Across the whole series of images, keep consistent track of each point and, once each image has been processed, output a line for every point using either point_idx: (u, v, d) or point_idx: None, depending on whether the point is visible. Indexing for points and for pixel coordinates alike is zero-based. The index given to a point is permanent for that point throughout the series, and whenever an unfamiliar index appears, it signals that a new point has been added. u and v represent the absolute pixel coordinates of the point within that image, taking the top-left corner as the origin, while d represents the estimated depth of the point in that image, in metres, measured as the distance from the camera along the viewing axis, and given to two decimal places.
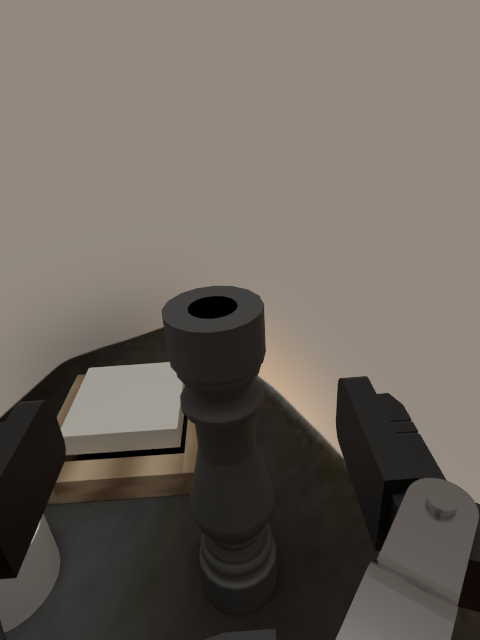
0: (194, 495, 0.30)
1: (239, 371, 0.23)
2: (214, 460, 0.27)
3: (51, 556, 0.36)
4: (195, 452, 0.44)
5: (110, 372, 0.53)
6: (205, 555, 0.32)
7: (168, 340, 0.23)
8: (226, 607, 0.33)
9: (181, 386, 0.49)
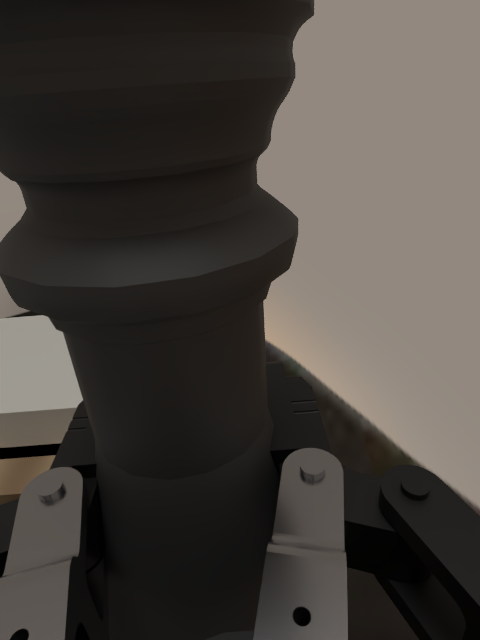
0: None
1: None
2: (132, 458, 0.08)
3: None
4: None
5: (29, 323, 0.33)
6: None
7: None
8: None
9: None
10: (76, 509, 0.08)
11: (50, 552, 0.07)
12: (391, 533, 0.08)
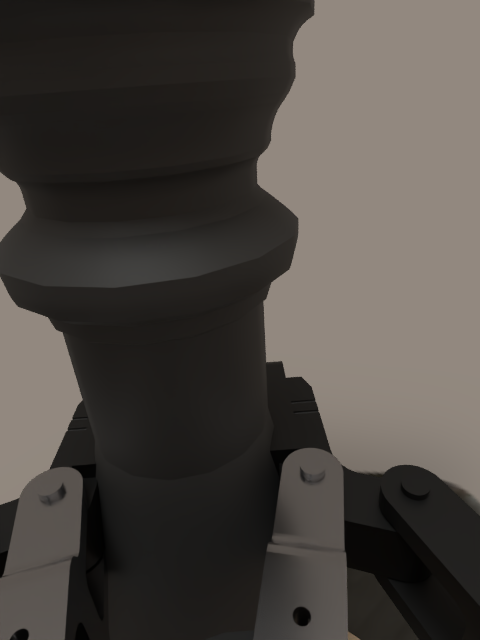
0: None
1: None
2: (131, 458, 0.08)
3: None
4: None
5: None
6: None
7: None
8: None
9: None
10: (76, 509, 0.08)
11: (50, 552, 0.07)
12: (391, 533, 0.08)
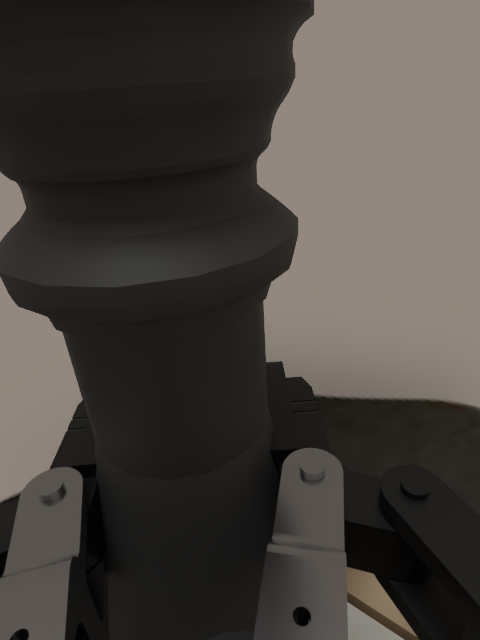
0: None
1: None
2: (131, 458, 0.08)
3: None
4: None
5: None
6: None
7: None
8: None
9: None
10: (76, 509, 0.08)
11: (50, 552, 0.07)
12: (391, 533, 0.08)
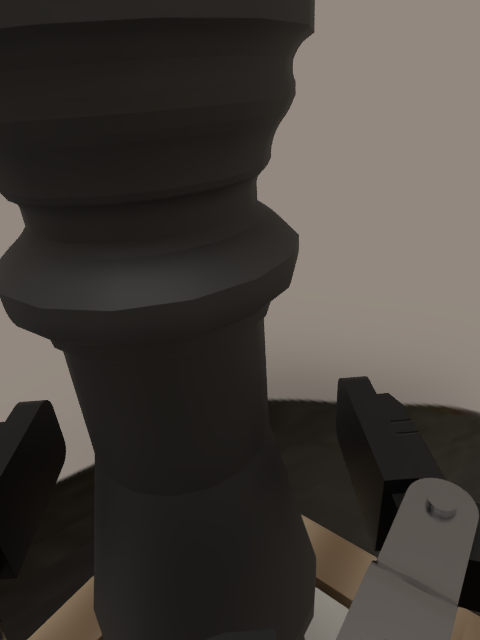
0: (95, 571, 0.10)
1: None
2: (131, 474, 0.08)
3: None
4: None
5: None
6: None
7: None
8: None
9: None
10: None
11: None
12: None
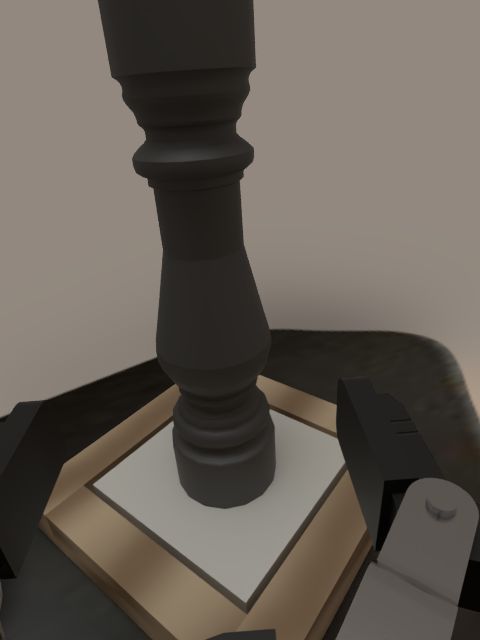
0: (159, 324, 0.21)
1: (212, 53, 0.15)
2: (183, 250, 0.19)
3: None
4: None
5: None
6: (178, 424, 0.24)
7: (103, 13, 0.15)
8: (207, 498, 0.25)
9: (315, 500, 0.25)
10: None
11: None
12: None
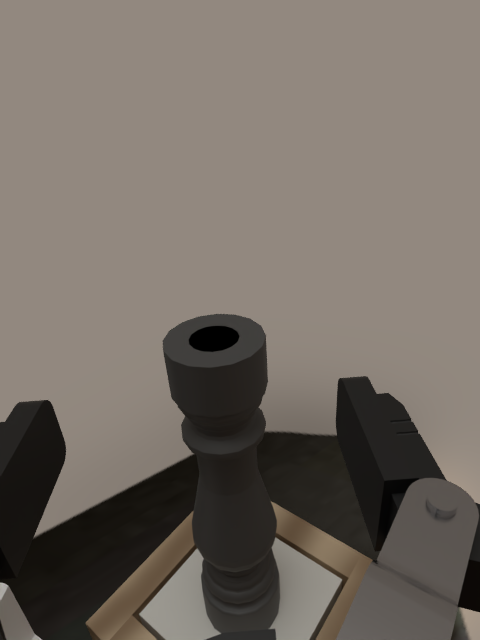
0: (196, 522, 0.29)
1: (240, 404, 0.23)
2: (216, 489, 0.27)
3: None
4: None
5: None
6: (207, 580, 0.32)
7: (169, 372, 0.23)
8: None
9: (310, 633, 0.33)
10: None
11: None
12: None
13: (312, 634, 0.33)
